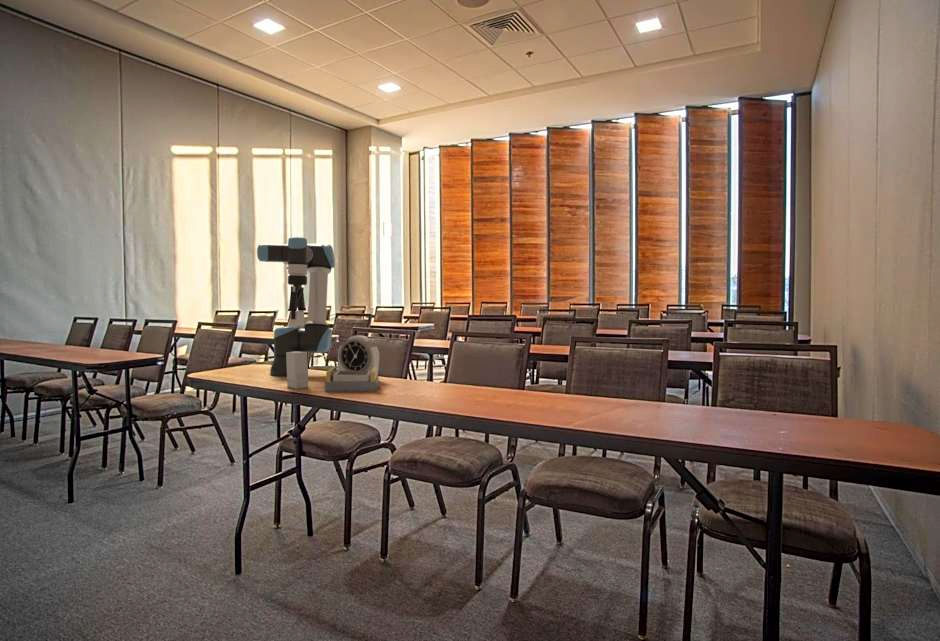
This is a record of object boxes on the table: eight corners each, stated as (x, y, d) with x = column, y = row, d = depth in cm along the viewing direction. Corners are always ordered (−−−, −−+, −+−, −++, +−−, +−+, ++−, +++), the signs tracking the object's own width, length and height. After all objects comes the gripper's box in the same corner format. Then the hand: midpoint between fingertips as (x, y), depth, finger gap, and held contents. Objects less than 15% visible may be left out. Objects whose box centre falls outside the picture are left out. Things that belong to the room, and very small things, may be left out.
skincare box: (308, 387, 235) (308, 352, 234) (295, 389, 230) (295, 352, 230) (299, 385, 241) (299, 350, 240) (285, 386, 236) (285, 351, 236)
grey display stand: (330, 388, 242) (331, 366, 241) (378, 388, 244) (378, 366, 243) (324, 394, 226) (325, 371, 225) (375, 394, 228) (376, 371, 227)
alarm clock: (336, 380, 257) (336, 335, 256) (345, 377, 265) (345, 334, 264) (372, 382, 252) (372, 337, 251) (380, 379, 260) (381, 335, 259)
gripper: (294, 276, 246) (294, 325, 246) (280, 273, 221) (280, 328, 222) (312, 276, 246) (312, 325, 247) (300, 274, 221) (300, 328, 222)
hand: (297, 326), depth 234 cm, fingers open, 13 cm apart
